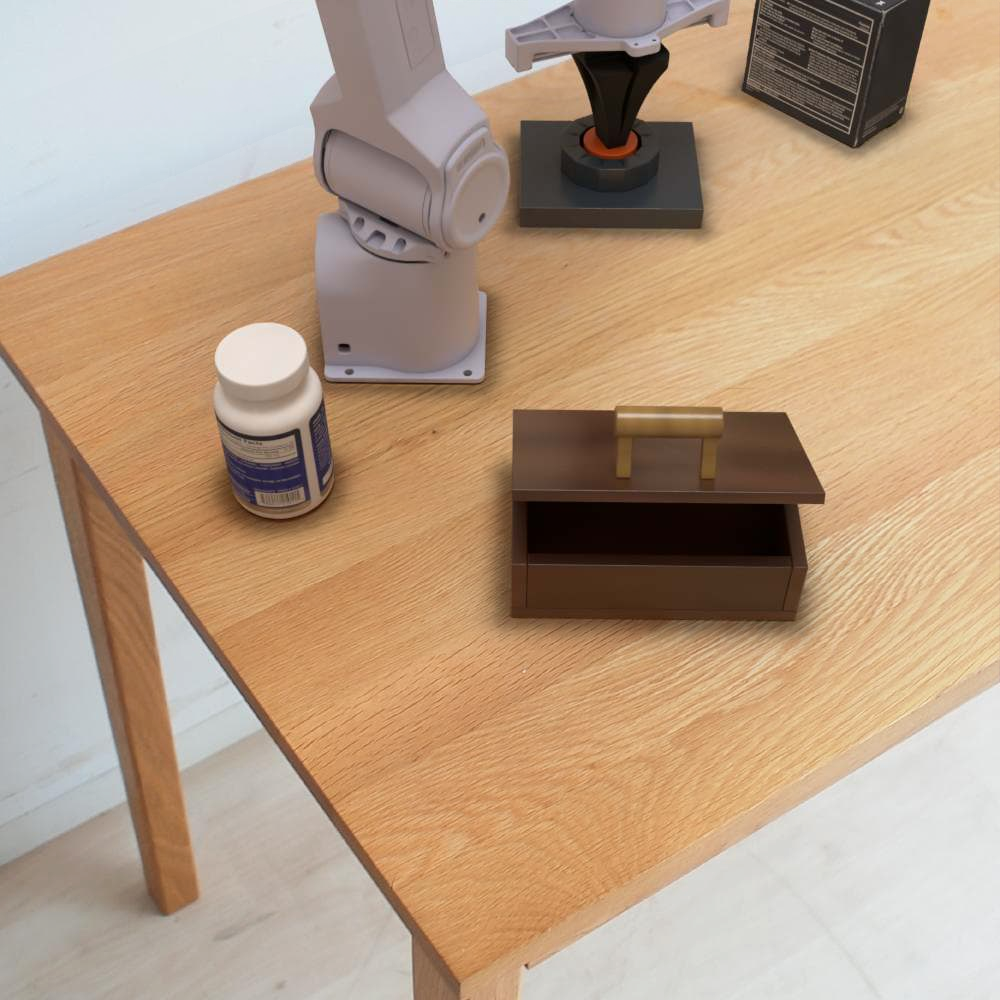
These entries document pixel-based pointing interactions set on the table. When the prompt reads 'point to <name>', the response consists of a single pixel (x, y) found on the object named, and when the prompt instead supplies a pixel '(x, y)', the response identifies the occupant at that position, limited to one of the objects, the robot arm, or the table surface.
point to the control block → (609, 178)
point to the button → (599, 150)
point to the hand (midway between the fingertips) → (610, 139)
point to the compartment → (656, 560)
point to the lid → (660, 456)
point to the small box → (835, 61)
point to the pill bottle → (272, 421)
